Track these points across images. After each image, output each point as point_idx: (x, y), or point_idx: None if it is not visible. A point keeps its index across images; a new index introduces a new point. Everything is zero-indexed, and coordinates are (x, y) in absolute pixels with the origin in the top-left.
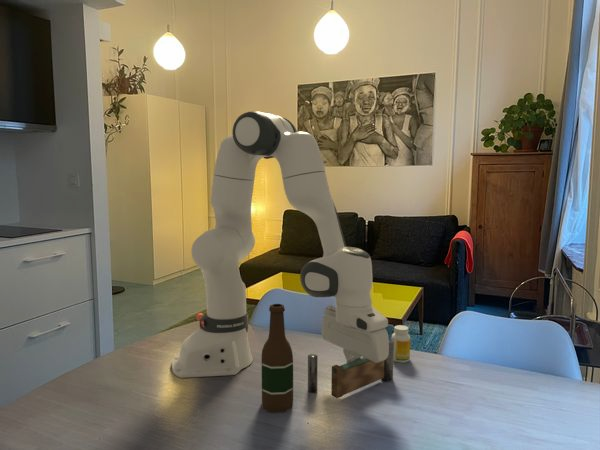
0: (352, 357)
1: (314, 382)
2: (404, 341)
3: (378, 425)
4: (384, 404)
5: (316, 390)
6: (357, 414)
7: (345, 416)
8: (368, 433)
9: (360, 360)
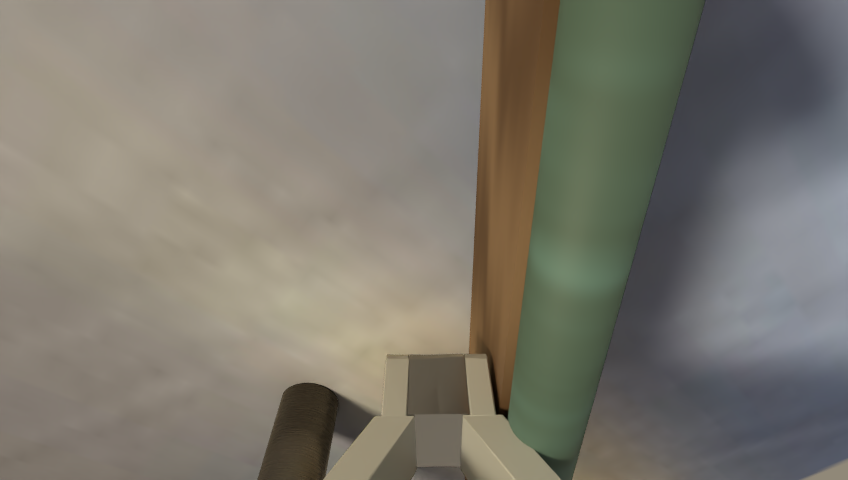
0: (404, 434)
1: (327, 465)
2: None
3: (807, 382)
4: (754, 222)
5: (334, 404)
6: (660, 388)
7: (620, 427)
8: (786, 438)
9: (573, 464)
